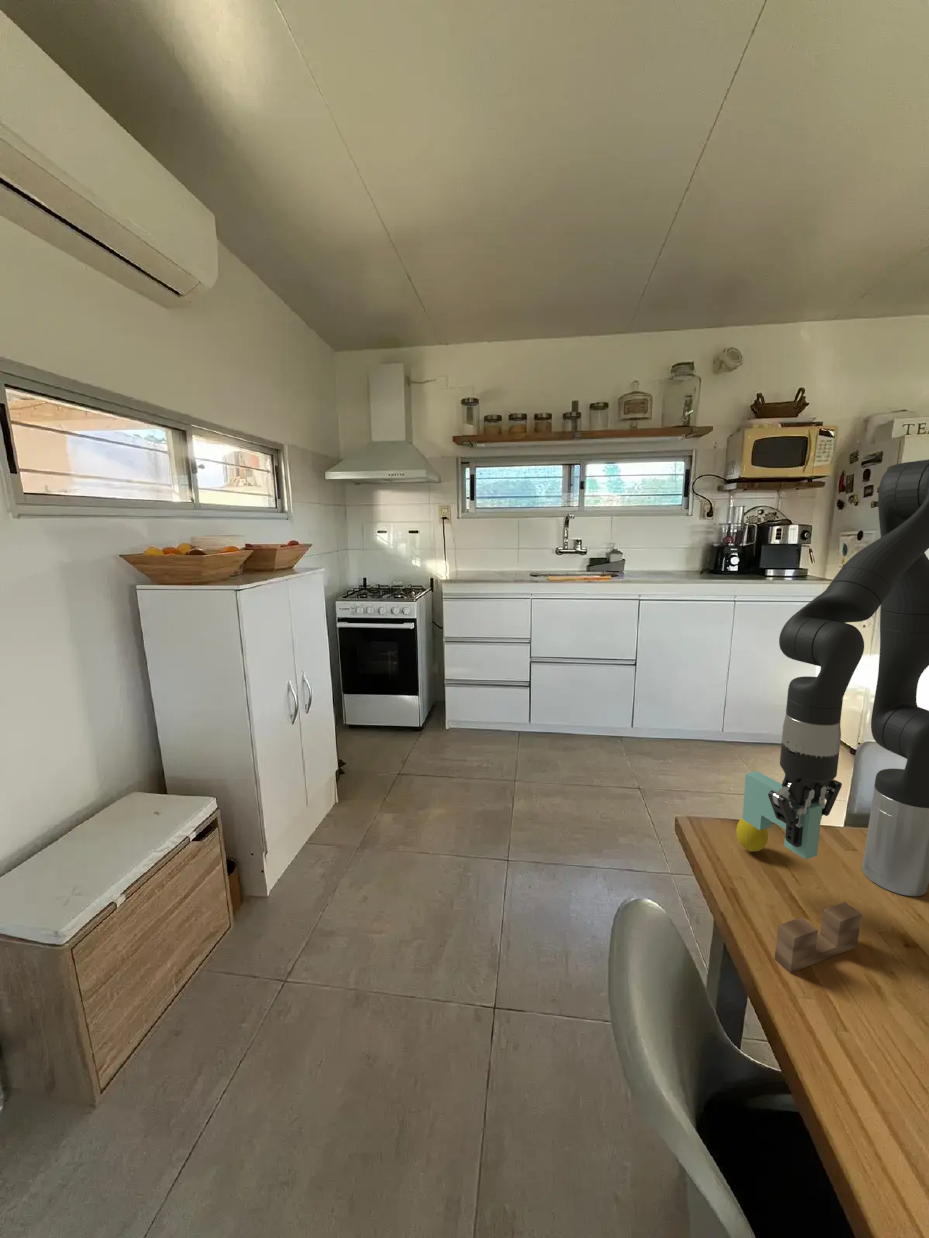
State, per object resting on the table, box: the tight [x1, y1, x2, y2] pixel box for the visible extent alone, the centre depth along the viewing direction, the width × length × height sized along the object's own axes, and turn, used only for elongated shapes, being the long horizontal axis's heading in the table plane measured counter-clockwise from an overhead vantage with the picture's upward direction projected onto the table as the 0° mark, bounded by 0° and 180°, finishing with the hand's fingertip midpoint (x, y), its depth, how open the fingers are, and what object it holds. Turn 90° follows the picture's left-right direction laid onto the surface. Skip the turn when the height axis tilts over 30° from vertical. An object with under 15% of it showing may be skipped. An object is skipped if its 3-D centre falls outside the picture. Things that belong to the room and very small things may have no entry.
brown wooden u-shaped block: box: [774, 901, 863, 974], centre depth 77 cm, size 14×3×6 cm, turn 108°
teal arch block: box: [741, 770, 822, 860], centre depth 85 cm, size 12×3×9 cm, turn 19°
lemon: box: [735, 817, 769, 853], centre depth 100 cm, size 6×6×8 cm
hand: (800, 841), depth 82 cm, fingers closed on teal arch block, 2 cm apart
